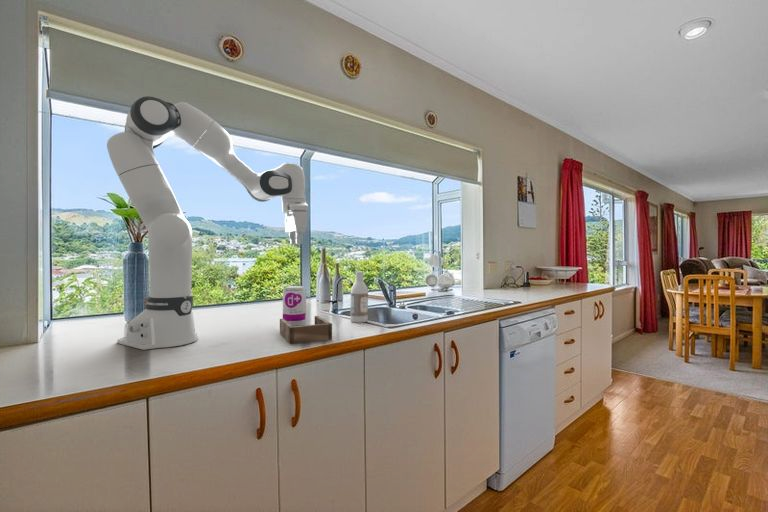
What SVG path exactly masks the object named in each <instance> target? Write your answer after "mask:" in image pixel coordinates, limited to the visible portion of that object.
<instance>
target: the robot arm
mask: <svg viewBox="0 0 768 512" xmlns="http://www.w3.org/2000/svg"><path fill="white" fill-rule="evenodd" d="M125 120H126V121H125V126H124V131H123V132H119V133H115V134H113V135H112V136H110V137H109V139H108V140H107V143H106V148H107V151H108V152H107V153H108V155H109V158H110V161H111V163H112V167H113V168H114V171H115V173H116V175H117V176H118V177H117V178H118V179H119V180H120V182H121V184H122V186H123V188H124V190H125V192H126V194H127V196H128V198H129V199H130V202H131V203H132V205H133V207H134V208H135V210H136V213H137V214H138V215H139V217H140V219H141V221H142V223H143V225H144V226H145V229H146V230H147V240H148V242H147V243H148V264H149V296H148V298H142V301H143V302H142V303H143V304H144V303H145V306H144V309H143V310H142V311H141V312H140V313H139V314H138V315H136V316H135V317H133V319H131V320H130V321H128V324H127V328H126V335H125V336H123V337H120V338H119V339H117V341H116V343H117V344H121V345H123V346H127V347H131V348H136V349H139V350H152V349H160V348H161V349H163V348H171V347H178V346H184V345H189V344H191V343H194V342H197V340H198V337H197V336H198V332H197V331H196V325H195V318H194V312H193V306H194V295H193V294H192V267H193V266H192V261H193V260H192V259H193V258H192V257H193V251H192V250H193V229H192V225H191V224H190V222H189V221H188V220H187V218H186V216H184V215H185V214H184V213H183V211H182V209H181V207H180V205H179V203H178V201H177V198H176V195H175V194H174V191H173V190H172V187H171V186H170V183H169V182H168V179H167V177H166V175H165V173H164V171H163V169H162V167H161V165H160V163H159V162H158V159H157V158H156V156H155V153H154V149H156V148H157V147H159V146H161V145H162V144H163V143H164V141H165V140H166V139H167V138H168V137H170V136H173V137H177V138H179V139H181V140H183V141H185V143H187V144H189V145H190V146H191V147H193V148H194V149H195V150H197V151H198V152H199V153H201V154H203V156H205V157H207V158H208V159H210V160H211V161H213V162H214V163H215V164H217V166H219V167H221V168H222V169H223V170H224V171H225V172H227V174H229V175H230V176H232V177H233V178H234V179H235V180H237V181H238V182H239V183H240V184H242V185H243V187H244V188H245V189H246V191H247V193H248V194H249V196H250V197H251V198H252V199H253V200H255V201H257V202H259V203H260V202H262V203H263V202H264V203H265V202H268V201H270V200H271V199H274V198H277V197H280V198H281V209H282V211H281V212H282V213H285V216H284V231H285V233H286V234H287V233H288V237H289V240H290V241H289V242H290V243H289V244H290V245H302V244H303V232H306V231H307V228H308V211H309V204H308V203H307V198H306V195H305V193H306V192H305V191H306V180H305V179H306V178H305V172H304V169H303V167H302V166H300V165H299V164H297V163H294V162H284V163H282V164H281V165H280V166H278V167H276V168H272V169H269V170H265V171H263V172H261V173H258V172H255V171H253V170H252V168H250V167H249V166H248V165H247V164H245V163H244V162H243V161H242V160H240V159H239V158H238V156H237V155H236V154H235V150H234V149H233V148H234V147H233V140H232V137H231V135H230V134H229V132H228V131H227V130H226V129H225V128H224V127H223V126H222V125H221V124H220V123H218V122H217V121H216V120H214V119H213V118H212V117H210V116H209V115H207V113H205V112H203V111H202V110H200V109H199V108H197V107H195V106H193V105H191V104H190V103H188V102H185V101H180V102H175V104H173V103H172V102H168V101H164V100H163V99H161V98H158V97H154V96H150V95H149V96H141V97H140V98H138V99H136V100H135V101H134V102H133V103H132V105H131V106H130V108H129V111H128V113H127V116H126V119H125Z"/></svg>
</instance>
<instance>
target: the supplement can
mask: <svg viewBox="0 0 768 512" xmlns="http://www.w3.org/2000/svg"><path fill="white" fill-rule="evenodd" d="M306 310H307V291H306V288H305V286H303V285H287V286H284V288H283V290H282V319H285V320H286V321H287V322H288V323H289V324H291V325H292V326H293V327H295V326H306V325H307V323H306V322H307V316H306V315H307V313H306V312H307V311H306Z"/></svg>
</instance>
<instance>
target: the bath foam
mask: <svg viewBox="0 0 768 512" xmlns="http://www.w3.org/2000/svg"><path fill="white" fill-rule="evenodd" d="M349 303H350V307H349V308H350V309H349V310H350V311H349V312H350V322H351V323H356V324H357V323H359V324H360V323H366V321H367V322H368V320H369V319H368V317H369V316H368V315H369V313H368V312H369V308H368V307H369V290H368V286H367V285H366V283H365V281H364V271H361V270H359V271H358V270H357V271H355V281H354V283H353V285H352V286H351V289H350V302H349Z"/></svg>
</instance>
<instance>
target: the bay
mask: <svg viewBox="0 0 768 512" xmlns="http://www.w3.org/2000/svg"><path fill="white" fill-rule="evenodd" d="M279 334H280V336H282V338H283V339H284V340H286V341H287V343H288V344H289V343H290V344H289V345H294V344H303V343H312V342H313V343H314V342H321V341H330V340H332V339H333V323H331V322H329V320H326V319H324V318H322V317H321V316H319V315H315V316H314V324H308V325H307V324H306V326H295V327H293V326H292V325H291V324H289V323H288V322H287V321H286V320H285V319H283V318H279Z"/></svg>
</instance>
